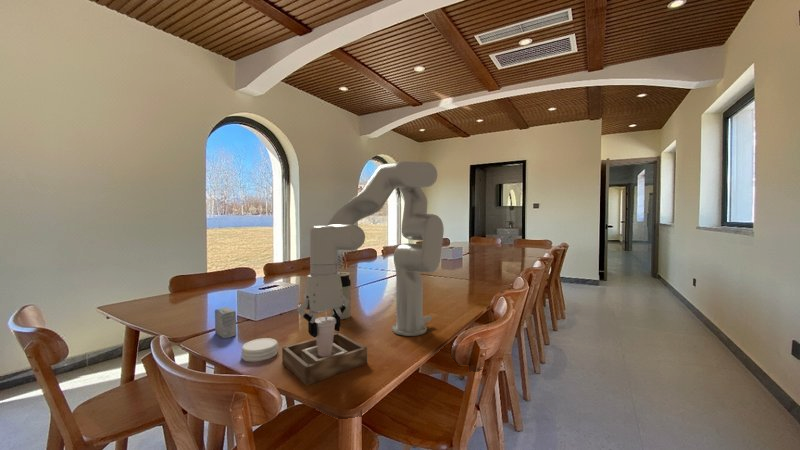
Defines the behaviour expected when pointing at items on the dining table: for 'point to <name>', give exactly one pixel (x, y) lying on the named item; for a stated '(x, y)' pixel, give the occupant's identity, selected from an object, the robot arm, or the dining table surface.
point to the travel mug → (345, 294)
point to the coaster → (259, 349)
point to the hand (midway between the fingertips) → (324, 332)
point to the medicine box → (225, 322)
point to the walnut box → (323, 358)
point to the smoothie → (325, 334)
